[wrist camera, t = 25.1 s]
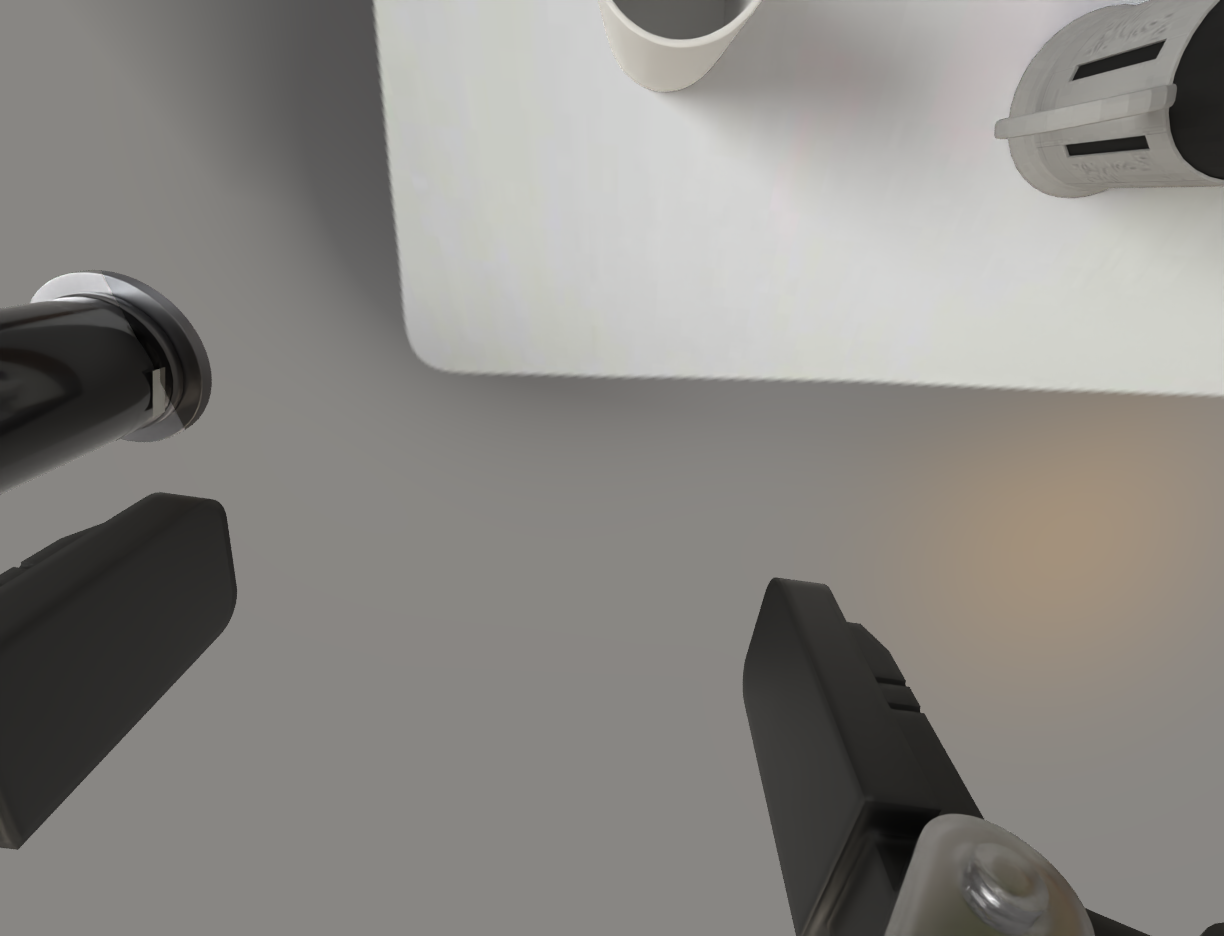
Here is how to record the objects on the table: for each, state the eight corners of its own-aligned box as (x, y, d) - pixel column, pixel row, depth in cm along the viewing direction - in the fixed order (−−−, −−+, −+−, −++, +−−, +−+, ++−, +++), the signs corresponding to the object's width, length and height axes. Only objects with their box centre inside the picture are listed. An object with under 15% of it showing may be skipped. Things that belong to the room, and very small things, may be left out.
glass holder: (1170, 179, 33) (1551, 167, 19) (902, 232, 34) (1080, 256, 21) (1202, -16, 29) (1696, -199, 16) (903, 53, 31) (1116, -60, 17)
